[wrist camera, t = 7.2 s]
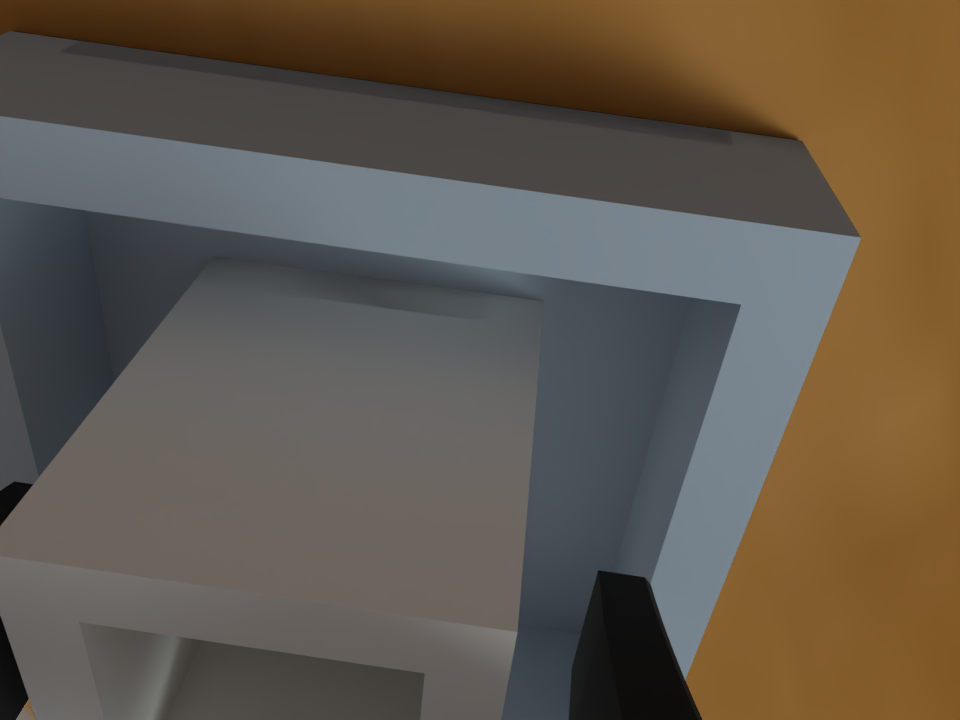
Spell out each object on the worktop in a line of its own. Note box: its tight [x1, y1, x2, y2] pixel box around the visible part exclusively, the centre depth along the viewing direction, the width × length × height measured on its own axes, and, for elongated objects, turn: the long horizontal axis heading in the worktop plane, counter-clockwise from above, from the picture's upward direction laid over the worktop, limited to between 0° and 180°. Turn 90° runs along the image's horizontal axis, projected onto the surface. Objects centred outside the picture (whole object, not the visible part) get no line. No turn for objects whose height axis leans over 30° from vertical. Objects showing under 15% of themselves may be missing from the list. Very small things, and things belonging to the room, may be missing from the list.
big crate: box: [0, 31, 861, 720], centre depth 14 cm, size 11×11×3 cm
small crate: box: [0, 257, 544, 720], centre depth 12 cm, size 5×5×6 cm
